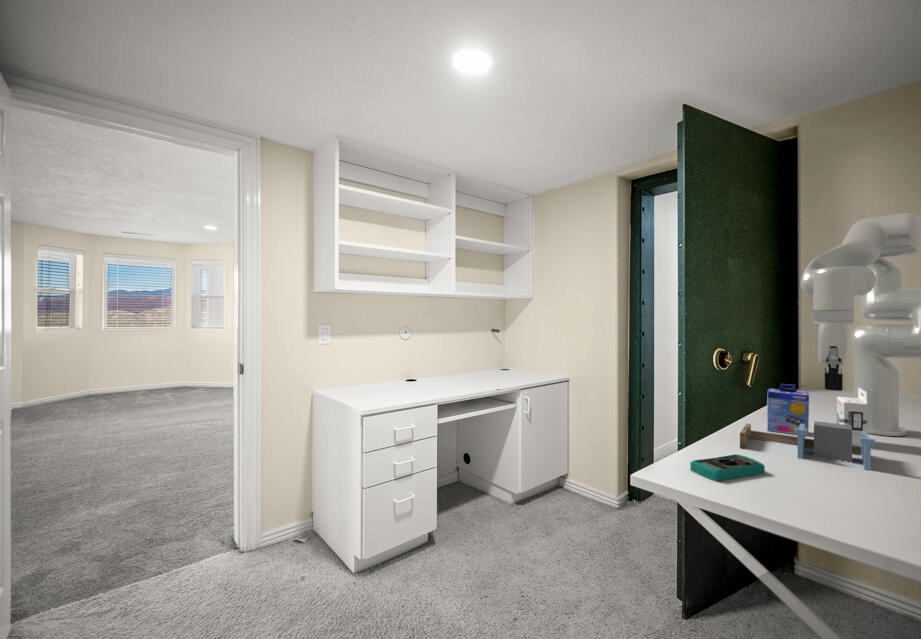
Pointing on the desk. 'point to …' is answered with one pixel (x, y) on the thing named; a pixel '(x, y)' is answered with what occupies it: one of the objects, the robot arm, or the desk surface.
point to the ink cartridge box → (787, 409)
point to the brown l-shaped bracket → (778, 439)
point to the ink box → (853, 414)
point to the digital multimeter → (727, 467)
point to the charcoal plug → (833, 441)
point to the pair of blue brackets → (864, 440)
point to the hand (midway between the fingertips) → (833, 386)
